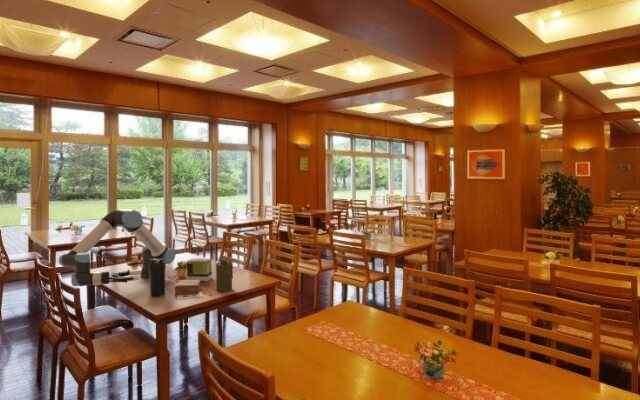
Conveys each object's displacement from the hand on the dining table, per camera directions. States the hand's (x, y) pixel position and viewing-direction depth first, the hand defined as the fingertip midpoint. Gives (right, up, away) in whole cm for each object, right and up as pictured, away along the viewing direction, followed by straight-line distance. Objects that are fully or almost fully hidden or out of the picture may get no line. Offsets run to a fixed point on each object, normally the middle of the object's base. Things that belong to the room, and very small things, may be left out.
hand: (140, 275), depth 247 cm
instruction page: (+30, -13, +3) cm, 33 cm away
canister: (+49, -13, +16) cm, 53 cm away
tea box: (+25, -11, +40) cm, 48 cm away
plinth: (+26, -13, +11) cm, 31 cm away
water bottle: (+9, -14, +5) cm, 17 cm away
